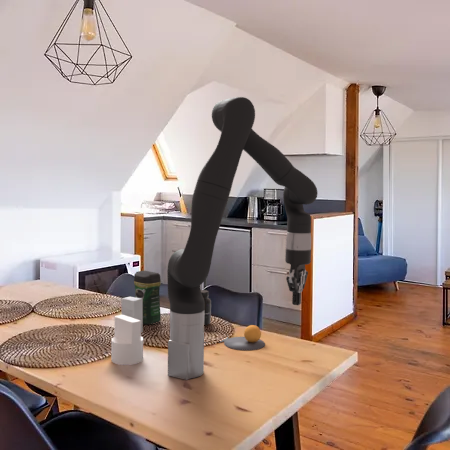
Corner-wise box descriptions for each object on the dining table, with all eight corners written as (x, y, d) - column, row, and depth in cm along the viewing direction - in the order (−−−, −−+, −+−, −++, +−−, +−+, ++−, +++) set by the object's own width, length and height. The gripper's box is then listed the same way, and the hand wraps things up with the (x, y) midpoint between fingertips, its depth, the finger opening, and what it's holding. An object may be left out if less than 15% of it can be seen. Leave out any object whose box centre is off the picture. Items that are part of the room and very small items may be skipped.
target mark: (254, 353, 153) (254, 352, 153) (216, 345, 159) (216, 345, 159) (271, 341, 165) (271, 340, 165) (235, 335, 171) (235, 334, 171)
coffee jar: (164, 322, 184) (164, 271, 183) (147, 326, 178) (148, 274, 177) (146, 317, 190) (146, 268, 189) (130, 321, 184) (130, 271, 183)
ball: (257, 345, 160) (256, 328, 159) (241, 344, 162) (240, 327, 162) (264, 340, 165) (263, 323, 164) (249, 339, 167) (247, 322, 167)
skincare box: (143, 333, 170) (143, 298, 169) (134, 336, 167) (134, 301, 166) (129, 330, 174) (129, 296, 172) (120, 333, 170) (120, 298, 169)
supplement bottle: (208, 327, 179) (208, 293, 178) (189, 325, 180) (189, 292, 179) (212, 322, 186) (213, 289, 185) (194, 320, 187) (194, 288, 186)
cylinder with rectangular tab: (149, 359, 146) (149, 318, 145) (123, 367, 140) (123, 324, 139) (130, 351, 152) (130, 312, 151) (105, 359, 146) (105, 318, 145)
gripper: (303, 251, 144) (301, 311, 145) (317, 246, 155) (315, 301, 157) (278, 248, 147) (276, 307, 149) (294, 244, 159) (292, 298, 160)
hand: (296, 304), depth 153 cm, fingers closed
